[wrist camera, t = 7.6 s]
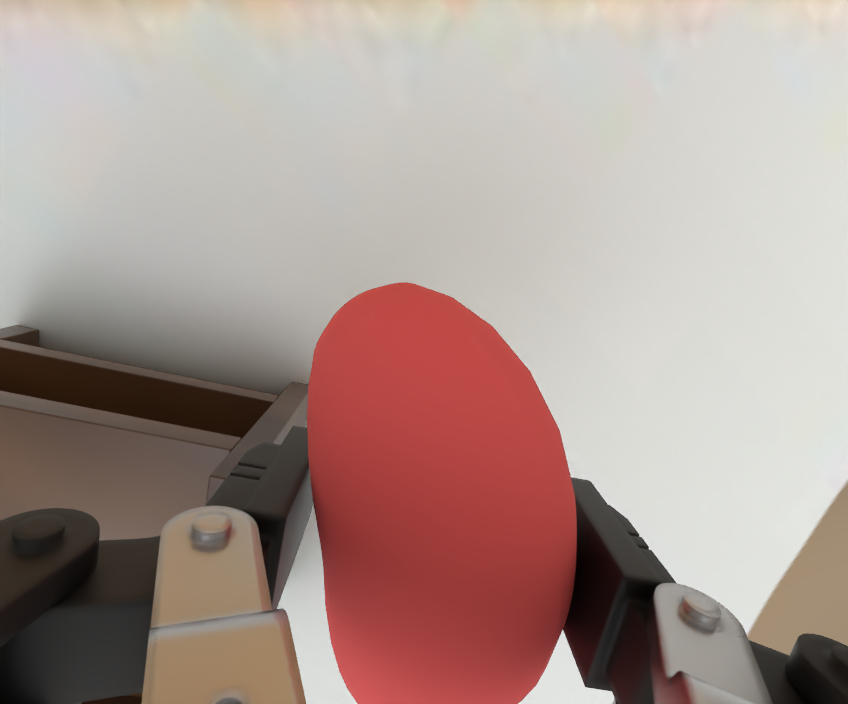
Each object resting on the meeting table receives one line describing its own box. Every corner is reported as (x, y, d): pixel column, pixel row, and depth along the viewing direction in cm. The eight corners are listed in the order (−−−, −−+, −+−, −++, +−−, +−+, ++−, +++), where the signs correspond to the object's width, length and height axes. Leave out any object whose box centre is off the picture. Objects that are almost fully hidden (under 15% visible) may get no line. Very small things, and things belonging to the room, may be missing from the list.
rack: (16, 324, 26) (-269, 385, 15) (313, 385, 27) (244, 482, 16) (9, 536, 29) (-236, 714, 18) (278, 583, 30) (199, 778, 19)
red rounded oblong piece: (588, 340, 13) (606, 250, 7) (559, 715, 11) (551, 1019, 5) (402, 328, 14) (281, 246, 8) (358, 656, 13) (177, 842, 7)
